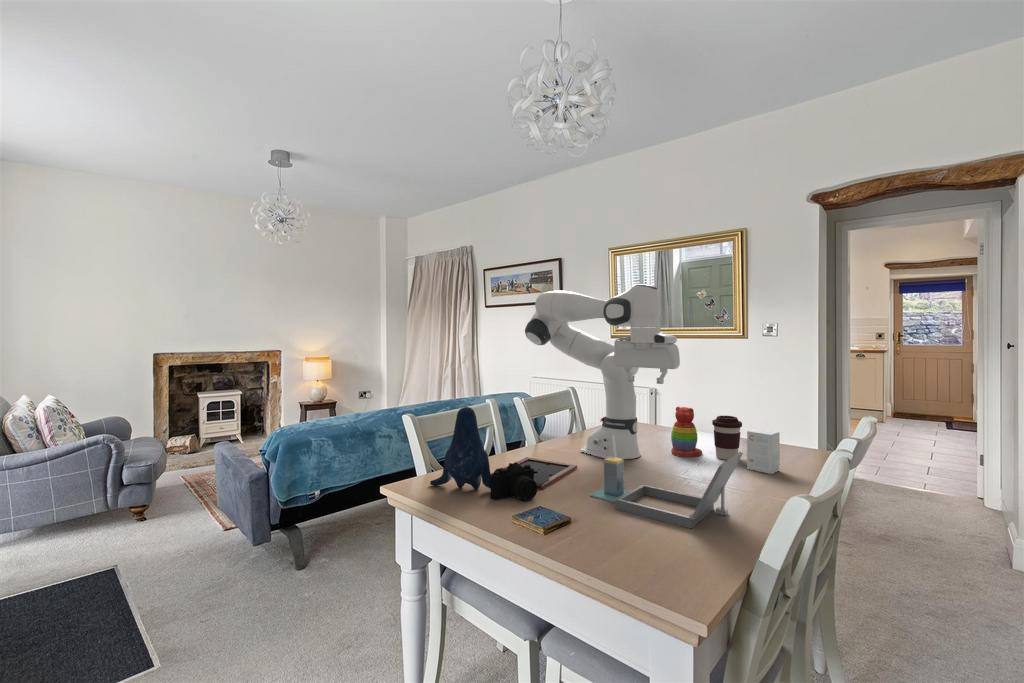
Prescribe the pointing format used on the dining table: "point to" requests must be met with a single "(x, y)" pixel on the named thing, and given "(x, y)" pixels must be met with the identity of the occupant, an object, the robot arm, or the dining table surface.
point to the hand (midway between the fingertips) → (645, 382)
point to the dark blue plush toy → (465, 454)
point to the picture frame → (546, 470)
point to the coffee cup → (726, 436)
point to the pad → (603, 496)
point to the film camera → (513, 482)
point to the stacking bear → (684, 434)
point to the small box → (763, 451)
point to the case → (682, 498)
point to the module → (613, 476)
